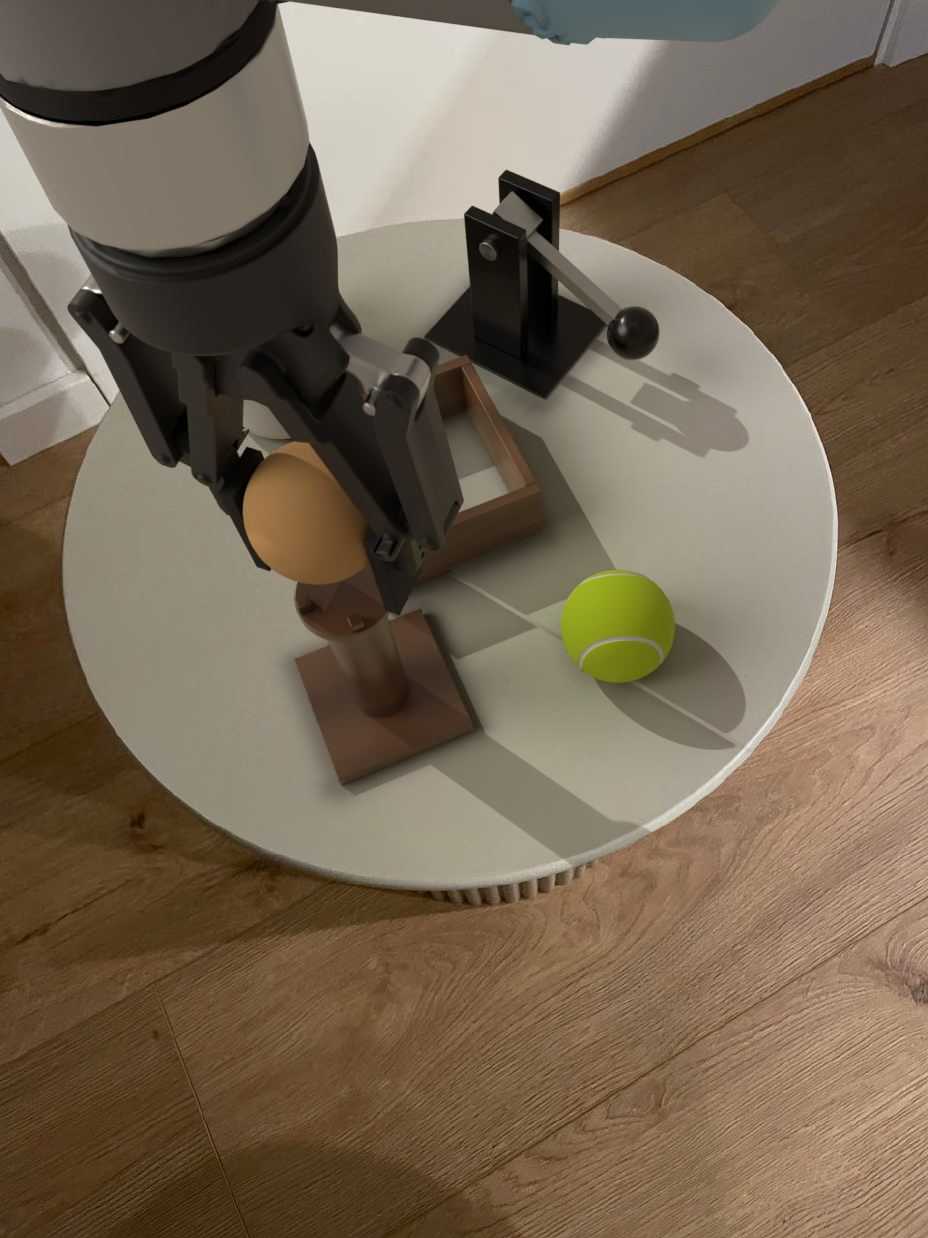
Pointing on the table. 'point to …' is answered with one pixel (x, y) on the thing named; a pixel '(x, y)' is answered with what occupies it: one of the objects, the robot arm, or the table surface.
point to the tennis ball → (617, 626)
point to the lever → (585, 287)
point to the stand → (374, 678)
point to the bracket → (515, 298)
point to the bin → (524, 500)
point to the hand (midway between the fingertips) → (338, 567)
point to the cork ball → (303, 518)
